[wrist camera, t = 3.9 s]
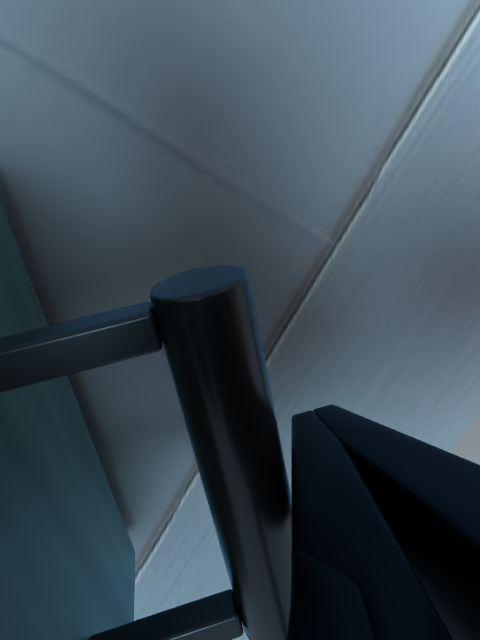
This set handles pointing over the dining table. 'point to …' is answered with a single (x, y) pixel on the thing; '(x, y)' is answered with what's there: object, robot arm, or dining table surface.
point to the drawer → (89, 477)
